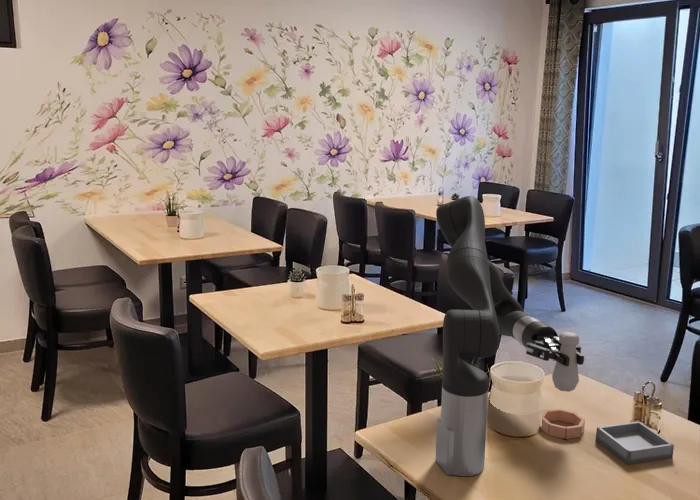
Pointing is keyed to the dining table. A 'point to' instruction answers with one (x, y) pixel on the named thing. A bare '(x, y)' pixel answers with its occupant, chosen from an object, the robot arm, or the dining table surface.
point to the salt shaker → (568, 375)
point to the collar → (561, 430)
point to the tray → (634, 442)
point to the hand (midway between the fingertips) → (574, 361)
